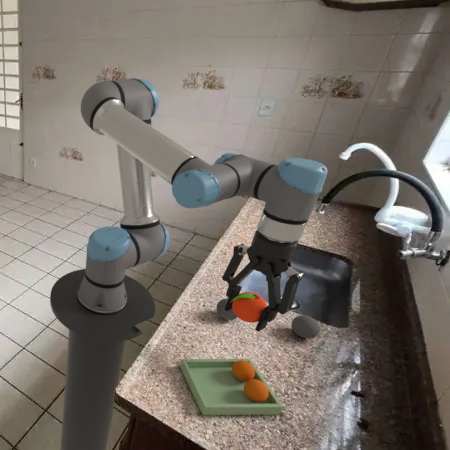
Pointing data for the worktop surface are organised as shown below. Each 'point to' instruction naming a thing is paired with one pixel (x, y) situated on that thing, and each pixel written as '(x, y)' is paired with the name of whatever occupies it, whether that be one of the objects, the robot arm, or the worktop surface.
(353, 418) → the worktop surface
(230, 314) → the grey ball
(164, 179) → the robot arm
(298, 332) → the grey ball
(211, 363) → the tray
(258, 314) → the clementine
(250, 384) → the orange ball
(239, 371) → the orange ball
